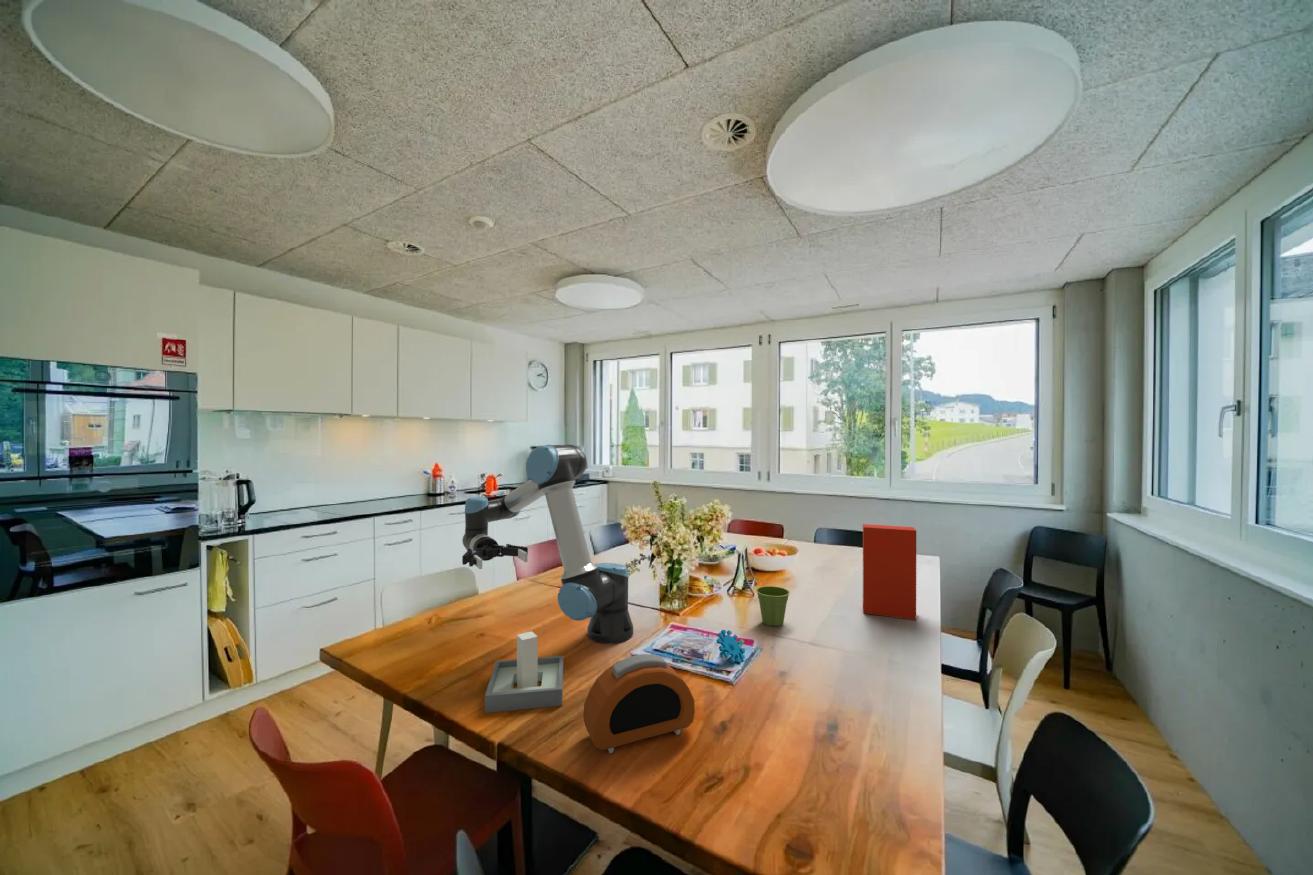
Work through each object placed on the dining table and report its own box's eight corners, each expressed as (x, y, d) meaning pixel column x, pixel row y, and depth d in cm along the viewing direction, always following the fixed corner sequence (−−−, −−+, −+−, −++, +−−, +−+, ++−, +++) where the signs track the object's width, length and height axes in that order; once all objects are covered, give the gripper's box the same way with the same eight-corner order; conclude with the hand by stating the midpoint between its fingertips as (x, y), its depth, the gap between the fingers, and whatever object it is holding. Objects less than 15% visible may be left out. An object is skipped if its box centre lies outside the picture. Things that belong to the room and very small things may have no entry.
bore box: (563, 669, 135) (563, 655, 135) (562, 705, 117) (562, 689, 117) (496, 675, 131) (496, 660, 131) (484, 712, 114) (484, 695, 114)
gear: (730, 663, 135) (713, 630, 141) (717, 673, 138) (701, 640, 143) (754, 657, 142) (737, 625, 148) (741, 666, 145) (725, 635, 151)
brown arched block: (593, 760, 97) (593, 677, 97) (582, 734, 105) (582, 659, 105) (696, 731, 107) (696, 656, 107) (678, 710, 115) (678, 640, 115)
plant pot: (794, 620, 171) (794, 589, 171) (783, 632, 161) (784, 598, 161) (762, 613, 177) (762, 583, 177) (750, 624, 167) (750, 592, 167)
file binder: (862, 606, 185) (862, 523, 185) (913, 612, 179) (913, 526, 179) (863, 613, 177) (863, 527, 177) (916, 620, 171) (916, 530, 171)
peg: (531, 683, 127) (531, 631, 127) (537, 690, 124) (537, 636, 124) (516, 688, 125) (517, 634, 125) (522, 695, 121) (522, 640, 121)
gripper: (520, 553, 169) (543, 566, 151) (444, 564, 154) (460, 580, 137) (520, 531, 169) (543, 543, 151) (444, 540, 154) (460, 554, 137)
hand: (504, 560), depth 144 cm, fingers open, 13 cm apart
